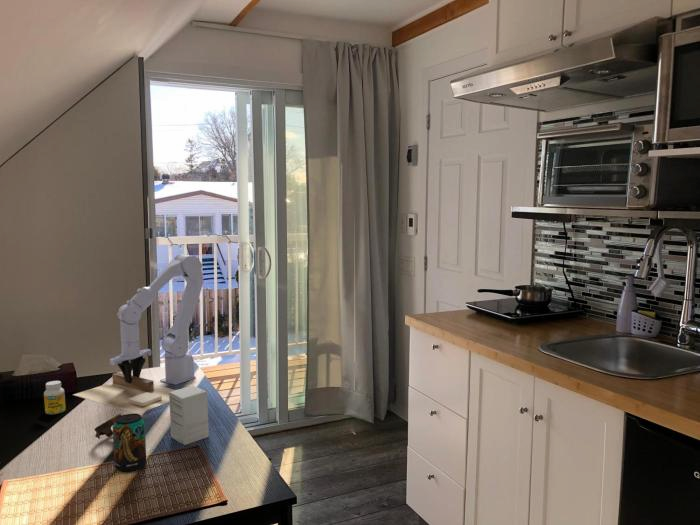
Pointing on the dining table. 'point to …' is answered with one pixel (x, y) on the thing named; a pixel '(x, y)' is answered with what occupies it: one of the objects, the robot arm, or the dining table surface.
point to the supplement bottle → (54, 398)
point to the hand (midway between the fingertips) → (132, 381)
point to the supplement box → (189, 414)
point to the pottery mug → (106, 427)
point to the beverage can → (129, 443)
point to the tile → (144, 399)
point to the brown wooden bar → (134, 382)
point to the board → (124, 396)
